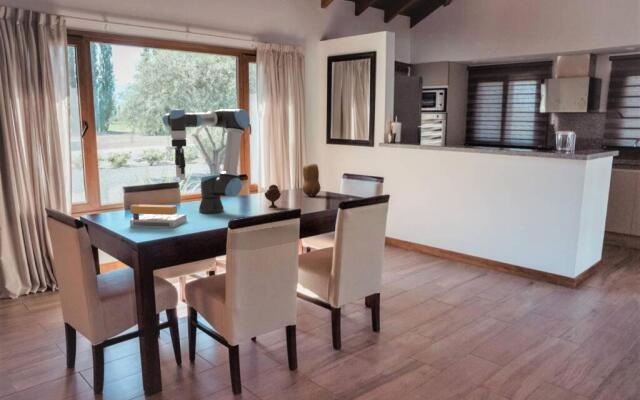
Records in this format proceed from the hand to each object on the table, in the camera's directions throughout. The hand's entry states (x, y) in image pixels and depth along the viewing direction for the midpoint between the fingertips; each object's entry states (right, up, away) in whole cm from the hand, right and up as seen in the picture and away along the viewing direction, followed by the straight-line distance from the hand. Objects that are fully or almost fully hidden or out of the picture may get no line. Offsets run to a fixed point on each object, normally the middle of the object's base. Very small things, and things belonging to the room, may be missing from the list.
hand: (180, 178), depth 260 cm
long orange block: (-15, -19, -1) cm, 24 cm away
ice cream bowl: (+44, -17, +59) cm, 76 cm away
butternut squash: (+68, -9, +108) cm, 128 cm away
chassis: (-14, -25, +6) cm, 29 cm away
